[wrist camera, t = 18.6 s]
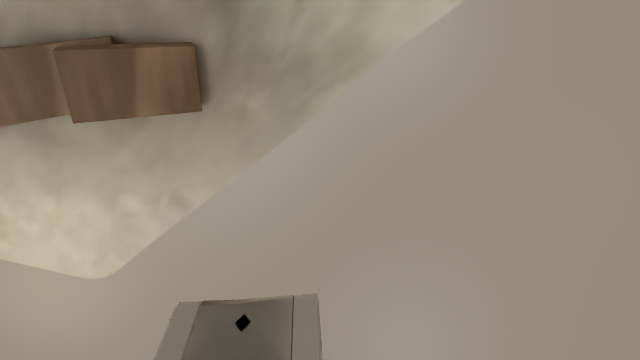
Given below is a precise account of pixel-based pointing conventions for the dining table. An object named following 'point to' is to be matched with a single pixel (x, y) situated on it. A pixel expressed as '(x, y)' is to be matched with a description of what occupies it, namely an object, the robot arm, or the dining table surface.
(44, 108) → the domino
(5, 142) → the dining table surface
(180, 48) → the domino
